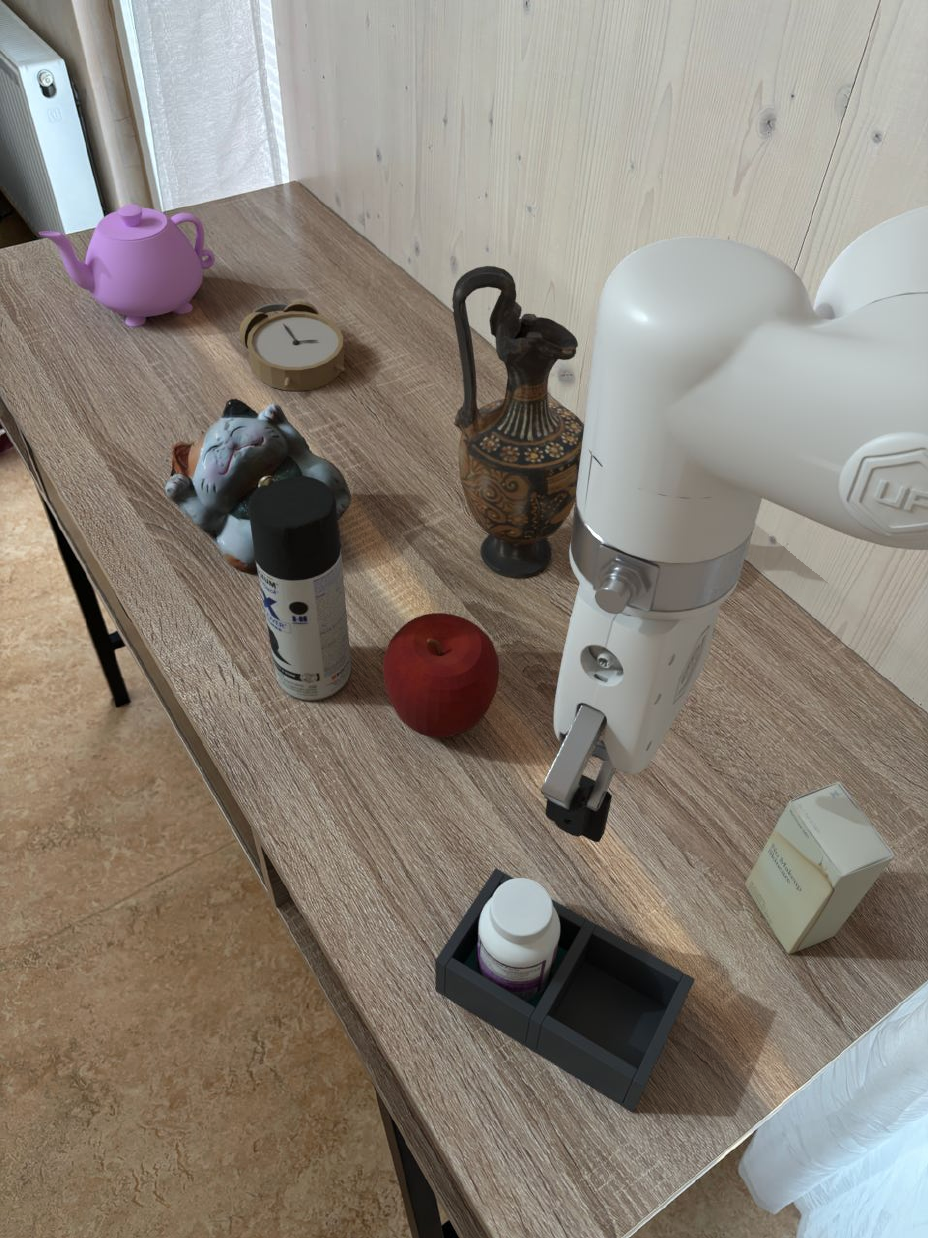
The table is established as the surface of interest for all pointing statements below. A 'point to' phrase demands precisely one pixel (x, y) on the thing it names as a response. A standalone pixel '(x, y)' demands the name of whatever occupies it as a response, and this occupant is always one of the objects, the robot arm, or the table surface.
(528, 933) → the pill bottle
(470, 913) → the holder
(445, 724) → the apple
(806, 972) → the table surface
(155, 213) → the teapot
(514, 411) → the vase
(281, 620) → the spray can
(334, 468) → the lucky cat figurine
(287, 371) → the alarm clock
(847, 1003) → the table surface
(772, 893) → the cosmetic box
